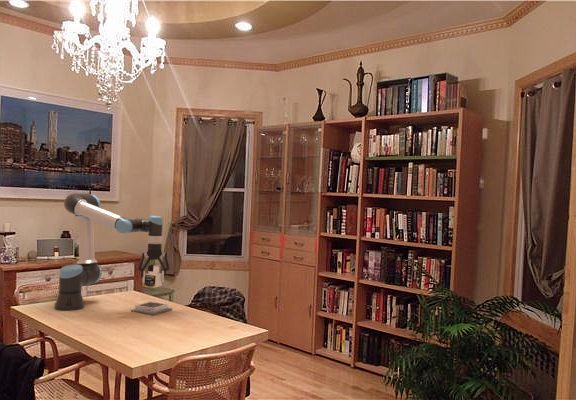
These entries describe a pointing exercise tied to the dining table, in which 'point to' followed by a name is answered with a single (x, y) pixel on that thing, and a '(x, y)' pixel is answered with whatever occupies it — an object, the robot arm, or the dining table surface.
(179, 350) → the dining table surface
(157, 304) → the square holder
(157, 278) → the medicine bottle
